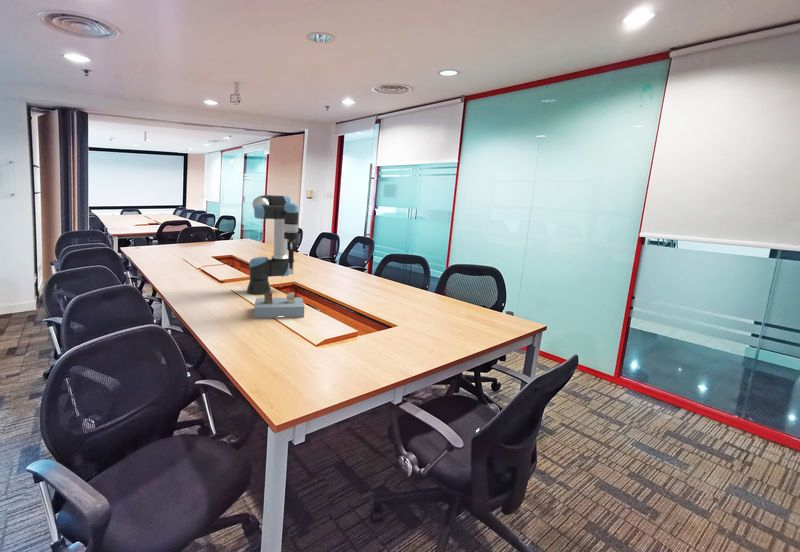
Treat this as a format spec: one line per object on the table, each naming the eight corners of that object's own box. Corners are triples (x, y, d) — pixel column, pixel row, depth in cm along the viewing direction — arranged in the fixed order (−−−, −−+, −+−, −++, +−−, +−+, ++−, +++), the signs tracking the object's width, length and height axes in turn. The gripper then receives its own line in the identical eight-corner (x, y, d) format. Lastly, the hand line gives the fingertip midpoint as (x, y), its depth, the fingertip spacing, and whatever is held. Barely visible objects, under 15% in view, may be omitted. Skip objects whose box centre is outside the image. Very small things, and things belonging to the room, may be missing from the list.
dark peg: (264, 303, 224) (264, 292, 222) (272, 303, 225) (272, 292, 224) (264, 305, 220) (264, 294, 219) (272, 305, 221) (272, 294, 220)
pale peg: (286, 302, 227) (286, 292, 226) (294, 302, 228) (294, 292, 227) (286, 304, 223) (286, 294, 222) (294, 304, 224) (294, 294, 223)
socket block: (256, 308, 231) (256, 298, 229) (302, 307, 238) (302, 297, 237) (254, 318, 212) (254, 307, 211) (304, 317, 219) (304, 306, 218)
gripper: (283, 230, 223) (283, 271, 228) (284, 232, 210) (284, 276, 215) (297, 230, 226) (297, 271, 230) (298, 233, 212) (298, 276, 217)
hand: (290, 273), depth 222 cm, fingers closed
